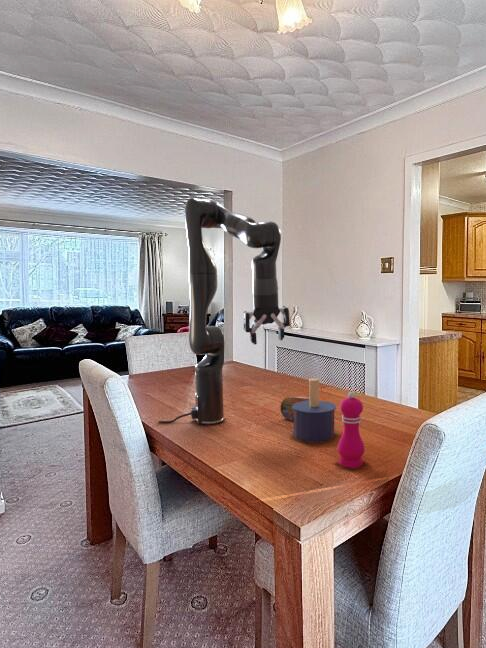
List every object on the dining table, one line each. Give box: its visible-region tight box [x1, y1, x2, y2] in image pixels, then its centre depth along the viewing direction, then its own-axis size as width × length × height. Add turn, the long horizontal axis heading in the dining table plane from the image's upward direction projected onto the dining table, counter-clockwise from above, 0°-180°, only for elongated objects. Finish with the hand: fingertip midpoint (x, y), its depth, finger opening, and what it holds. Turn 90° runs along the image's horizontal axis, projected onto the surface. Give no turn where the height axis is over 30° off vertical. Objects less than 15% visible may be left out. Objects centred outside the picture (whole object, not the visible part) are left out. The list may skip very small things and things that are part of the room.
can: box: [293, 410, 335, 443], centre depth 144 cm, size 13×13×9 cm
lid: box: [293, 377, 337, 414], centre depth 142 cm, size 14×14×10 cm
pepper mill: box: [337, 391, 366, 469], centre depth 121 cm, size 7×7×20 cm
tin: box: [279, 395, 309, 422], centre depth 160 cm, size 15×3×8 cm, turn 68°
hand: (267, 341), depth 142 cm, fingers open, 8 cm apart
